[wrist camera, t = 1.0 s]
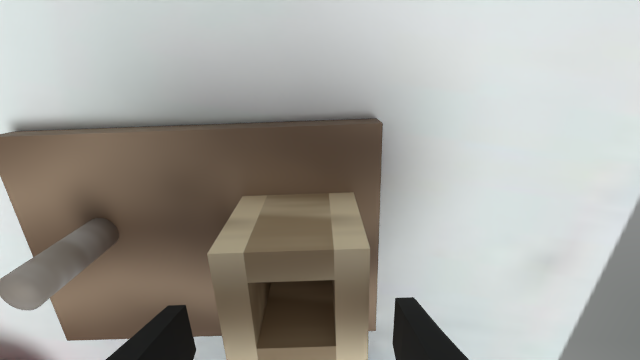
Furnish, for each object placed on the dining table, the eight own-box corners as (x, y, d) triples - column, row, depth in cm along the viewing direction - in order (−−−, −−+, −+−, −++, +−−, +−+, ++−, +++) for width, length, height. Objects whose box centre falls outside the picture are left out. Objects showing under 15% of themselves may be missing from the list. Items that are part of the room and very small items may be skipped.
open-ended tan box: (353, 284, 17) (367, 368, 12) (254, 287, 17) (229, 372, 12) (353, 192, 15) (370, 248, 10) (242, 196, 15) (207, 253, 10)
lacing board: (371, 311, 19) (393, 412, 13) (85, 320, 19) (-12, 425, 13) (376, 118, 15) (411, 145, 9) (16, 131, 15) (-165, 165, 9)
